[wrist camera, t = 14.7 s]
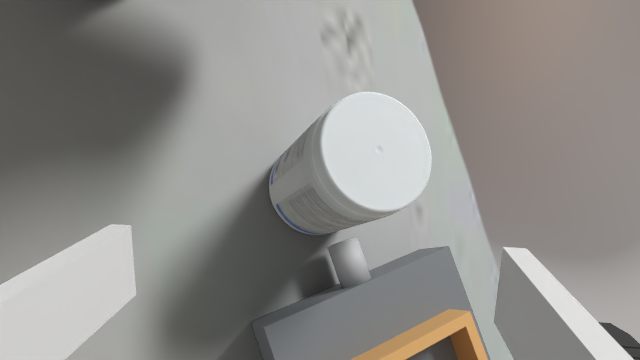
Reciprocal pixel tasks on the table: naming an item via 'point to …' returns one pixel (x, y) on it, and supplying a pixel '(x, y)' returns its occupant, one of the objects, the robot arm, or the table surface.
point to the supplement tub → (352, 166)
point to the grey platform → (378, 313)
